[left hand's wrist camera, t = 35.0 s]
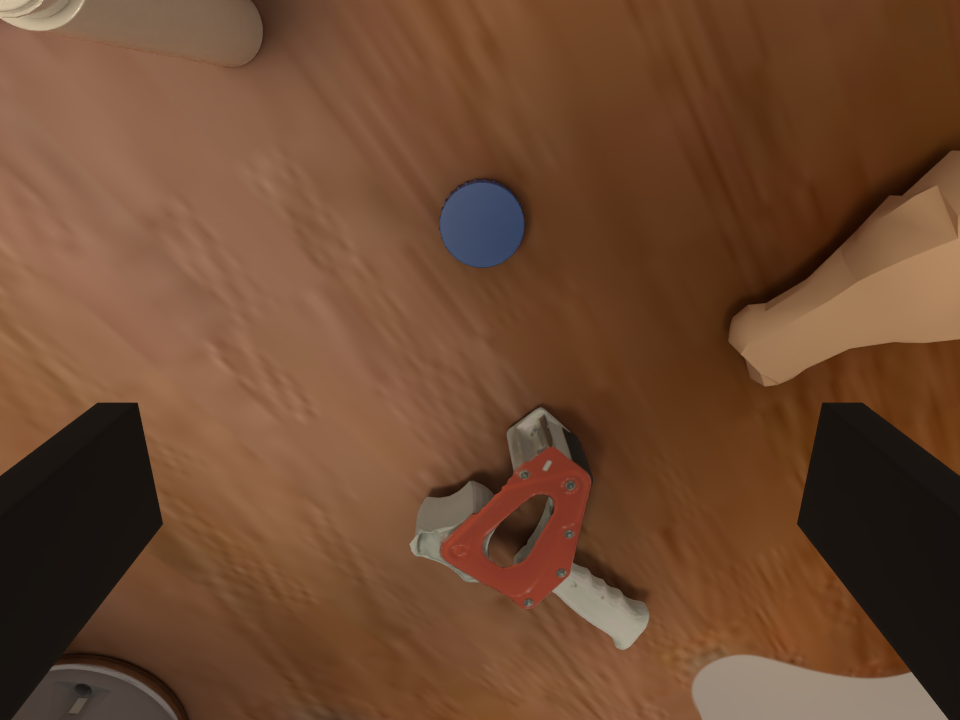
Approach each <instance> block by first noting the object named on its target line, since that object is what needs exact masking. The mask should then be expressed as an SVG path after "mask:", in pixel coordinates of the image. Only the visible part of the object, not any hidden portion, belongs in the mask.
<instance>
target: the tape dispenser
mask: <svg viewBox="0 0 960 720" xmlns="http://www.w3.org/2000/svg"><path fill="white" fill-rule="evenodd" d="M507 440H508V445H509V450H510V455H511V460H512V465H513V470H514V472H513V476H512V477H511V478H510V479H508V482H507V484H506V485H504V486H503V487H502V490H501V491H500V492H499V493H498V494H495V495H494V494H493V493H492V492H491V491H490V490H489V489H488V488H487V487H486V486H484V485H482V484H480V483H477V482H475V481H469V482H468V483H467V484H466V485H465V486H464V487H463V488H462V489H461V490H460V491H458V492H456V493H455V494H453V495H451V496H447V497H441V498H435V497H426V498H425V499H424V501H423V503H422V505H421V507H420V508H419V511H418V515H417V521H416V530H415V538H414V539H413V540H412V542H411V543H410V547H411V551H412V552H413V554H414V555H415V556H417V557H419V556H421V557H425V558H428V559H431V560H435V561H437V562H440V563H442V564H444V565H446V566H448V567H449V568H451V569H453V570H454V571H455V572H456V573H457V574H458V575H459V576H460V577H461V578H462V579H463V580H464V581H466V582H481V583H482V584H484V585H488V586H490V587H491V588H493V589H496V590H497V591H499V592H500V593H502V594H504V595H506V596H508V597H509V598H510V599H511V600H513V601H514V602H515V603H516V604H517V605H518V606H520V607H521V608H524V609H531V608H533V607H535V606H536V605H537V604H538V603H539V602H541V601H542V600H543V599H544V598H545V597H546V596H547V595H548V594H550V593H551V592H554V593H555V594H557V595H558V596H559V597H560V598H561V599H562V600H563V601H564V602H565V603H566V604H567V605H568V606H569V607H571V608H572V609H573V610H574V611H575V612H576V613H578V614H579V615H580V616H582V617H583V618H584V619H586V620H587V621H588V622H590V623H591V624H593V625H594V626H596V627H597V628H599V629H601V630H602V631H604V632H606V633H607V634H609V635H610V636H611V637H612V638H613V642H614V644H615V646H616V647H617V648H618V649H623V650H625V649H627V648H628V647H630V646H631V645H632V644H633V642H634V641H635V640H636V639H637V638H638V636H639V635H640V634H641V633H642V632H643V631H644V630H645V628H646V626H647V624H648V620H649V611H648V608H647V606H646V604H645V603H644V602H642V601H639V600H633V599H630V598H627V597H626V596H624V595H623V593H622V592H621V591H620V590H619V589H617V588H614V587H610V586H608V585H607V584H606V583H605V582H604V580H603V579H600V578H598V577H595V576H593V575H592V574H591V573H590V571H589V570H588V569H587V568H585V567H582V566H579V565H576V564H574V563H573V559H574V555H575V551H576V547H577V542H578V538H579V534H580V530H581V525H582V520H583V516H584V512H585V508H586V504H587V500H588V496H589V493H590V489H591V485H592V480H593V477H592V474H591V471H590V468H589V465H588V462H587V460H586V457H585V454H584V451H583V449H582V445H581V442H580V441H579V439H578V438H577V436H575V435H574V434H573V433H571V432H570V431H569V430H567V429H566V428H565V427H564V426H563V425H562V424H561V423H560V422H559V421H558V420H556V419H555V418H554V417H553V416H552V415H551V414H550V413H549V412H548V411H546V410H545V409H544V408H541V407H540V408H537V409H535V410H534V411H533V412H532V413H530V414H529V415H528V416H526V417H525V418H524V419H522V420H521V421H519V422H518V423H517V424H515V425H514V426H513V427H511V428H510V429H509V430H508V431H507ZM535 495H546V496H548V499H547V503H546V506H545V510H544V512H543V515H542V517H541V519H540V522H539V524H538V526H537V527H536V529H535V531H534V533H533V534H532V536H531V537H530V538H529V540H528V542H527V545H525V546H523V547H522V548H521V549H520V550H519V552H518V553H517V554H516V555H515V556H514V565H512V566H509V567H506V568H501V567H499V566H497V565H496V564H495V563H494V561H493V560H492V559H490V558H489V550H488V543H489V540H490V537H491V536H492V534H493V532H494V530H495V529H496V528H497V527H498V525H499V524H500V522H501V521H503V520H504V519H505V518H506V517H508V516H509V515H510V514H511V513H512V512H513V511H514V510H516V509H517V508H518V507H519V506H520V505H521V504H522V503H523V502H525V501H527V500H528V499H530V498H532V497H533V496H535Z"/></svg>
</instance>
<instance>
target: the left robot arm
mask: <svg viewBox="0 0 960 720" xmlns="http://www.w3.org/2000/svg"><path fill="white" fill-rule="evenodd" d="M162 525H163V522H162V517H161V512H160V508H159V503H158V498H157V493H156V489H155V484H154V479H153V474H152V469H151V465H150V460H149V455H148V450H147V445H146V441H145V436H144V431H143V426H142V422H141V417H140V412H139V407H138V403H97V404H95V405H94V406H93V407H91V408H90V409H89V410H87V411H86V412H85V413H83V414H82V415H81V416H79V417H78V418H77V419H75V420H74V421H73V422H71V423H70V424H69V425H67V426H66V427H65V428H63V429H62V430H61V431H59V432H58V433H57V434H55V435H54V436H53V437H51V438H50V439H49V440H47V441H46V442H45V443H43V444H42V445H41V446H40V447H38V448H37V449H36V450H34V451H33V452H32V453H30V454H29V455H28V456H26V457H25V458H24V459H22V460H21V461H20V462H18V463H17V464H16V465H14V466H13V467H12V468H10V469H9V470H8V471H6V472H5V473H4V474H2V475H1V476H0V720H187V718H186V715H185V712H184V710H183V708H182V706H181V704H180V703H179V702H178V700H177V699H176V697H175V696H174V695H173V694H172V692H171V691H170V690H169V689H168V688H167V687H166V686H164V685H163V684H162V683H161V682H160V681H158V680H157V679H156V678H154V677H153V676H151V675H150V674H148V673H146V672H145V671H143V670H141V669H139V668H137V667H135V666H133V665H130V664H128V663H125V662H122V661H119V660H116V659H112V658H108V657H103V656H96V655H84V654H77V655H64V656H61V655H62V654H63V652H64V651H65V650H66V648H67V647H68V646H69V645H70V643H71V642H72V641H73V639H74V638H75V637H76V636H77V634H78V633H79V632H80V630H81V629H82V628H83V627H84V625H85V624H86V623H87V621H88V620H89V619H90V617H91V616H92V615H93V614H94V612H95V611H96V610H97V608H98V607H99V606H100V605H101V603H102V602H103V601H104V599H105V598H106V597H107V596H108V594H109V593H110V592H111V590H112V589H113V588H114V587H115V585H116V584H117V583H118V581H119V580H120V579H121V577H122V576H123V575H124V574H125V572H126V571H127V570H128V568H129V567H130V566H131V565H132V563H133V562H134V561H135V559H136V558H137V557H138V556H139V554H140V553H141V552H142V550H143V549H144V548H145V547H146V545H147V544H148V543H149V541H150V540H151V539H152V537H153V536H154V535H155V534H156V532H157V531H158V530H159V528H160V527H161V526H162ZM797 525H798V526H799V527H800V528H801V530H802V531H803V532H804V534H805V535H806V536H807V537H808V539H809V540H810V541H811V543H812V544H813V545H814V547H815V548H816V549H817V550H818V552H819V553H820V554H821V556H822V557H823V558H824V559H825V561H826V562H827V563H828V565H829V566H830V567H831V568H832V570H833V571H834V572H835V574H836V575H837V576H838V577H839V579H840V580H841V581H842V583H843V584H844V585H845V587H846V588H847V589H848V590H849V592H850V593H851V594H852V596H853V597H854V598H855V599H856V601H857V602H858V603H859V605H860V606H861V607H862V608H863V610H864V611H865V612H866V614H867V615H868V616H869V617H870V619H871V620H872V621H873V623H874V624H875V625H876V627H877V628H878V629H879V630H880V632H881V633H882V634H883V636H884V637H885V638H886V639H887V641H888V642H889V643H890V645H891V646H892V647H893V648H894V650H895V651H896V652H897V654H898V655H899V656H900V658H901V659H902V660H903V661H904V663H905V664H906V665H907V667H908V668H909V669H910V670H911V672H912V673H913V674H914V676H915V677H916V678H917V679H918V681H919V682H920V683H921V685H922V686H923V687H924V688H925V690H926V691H927V692H928V694H929V695H930V696H931V698H932V699H933V700H934V701H935V703H936V704H937V705H938V707H939V708H940V709H941V710H942V712H943V713H944V714H945V716H946V717H947V718H948V719H949V720H960V476H959V475H958V474H956V473H955V472H954V471H952V470H951V469H950V468H948V467H947V466H946V465H944V464H943V463H942V462H940V461H939V460H938V459H936V458H935V457H934V456H932V455H931V454H930V453H928V452H927V451H926V450H924V449H923V448H922V447H920V446H919V445H918V444H916V443H915V442H914V441H913V440H911V439H910V438H909V437H907V436H906V435H905V434H903V433H902V432H901V431H899V430H898V429H897V428H895V427H894V426H893V425H891V424H890V423H889V422H887V421H886V420H885V419H883V418H882V417H881V416H879V415H878V414H877V413H875V412H874V411H873V410H871V409H870V408H869V407H867V406H866V405H865V404H863V403H822V407H821V412H820V417H819V421H818V426H817V431H816V436H815V441H814V445H813V450H812V455H811V460H810V465H809V469H808V474H807V479H806V484H805V489H804V493H803V498H802V503H801V508H800V512H799V517H798V522H797Z"/></svg>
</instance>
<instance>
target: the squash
mask: <svg viewBox="0 0 960 720" xmlns="http://www.w3.org/2000/svg"><path fill="white" fill-rule="evenodd" d="M956 339H960V151H950V152H949V153H948V154H947V155H946V156H945V157H944V158H943V159H942V160H941V161H940V162H938V163H937V164H936V165H935V166H934V167H933V168H932V169H931V170H930V171H929V172H928V173H926V174H925V175H924V176H923V177H922V178H921V179H920V180H919V181H918V182H917V183H916V184H914V185H913V186H912V187H911V188H910V189H909V190H908V191H907V192H906V193H905V194H904V195H902V196H892V195H889V196H888V198H887V199H886V200H885V201H884V202H883V203H882V204H881V205H880V206H879V207H878V208H877V209H876V210H875V211H874V212H873V213H872V214H871V215H870V216H869V217H868V218H867V220H866V221H865V222H864V223H863V224H862V225H861V226H860V227H859V228H858V229H857V230H856V231H855V232H854V233H853V234H852V235H851V236H850V237H849V238H848V239H847V240H846V241H845V242H844V243H843V244H842V245H841V246H840V247H839V248H838V249H837V250H836V251H835V252H834V253H833V254H832V255H831V256H830V257H829V258H828V259H827V260H826V261H825V262H824V263H823V264H822V265H821V266H820V267H819V268H818V269H817V270H816V271H815V272H814V273H813V274H811V275H810V276H809V277H808V278H807V279H806V280H804V281H803V282H801V283H799V284H797V285H796V286H794V287H792V288H791V289H789V290H787V291H786V292H784V293H782V294H781V295H779V296H777V297H776V298H774V299H772V300H770V301H769V302H767V303H762V304H752V305H747V306H746V307H745V308H743V309H742V310H741V311H740V312H739V313H737V314H736V315H735V316H734V317H733V318H732V321H731V324H730V330H729V339H728V342H729V343H730V344H731V345H732V346H733V347H734V348H735V349H736V350H737V351H738V352H739V353H740V354H741V355H742V356H743V357H744V358H745V361H746V364H747V368H748V371H749V375H750V378H751V379H752V380H754V381H756V382H758V383H759V384H761V385H763V386H772V385H778V384H781V383H783V382H785V381H788V380H790V379H792V378H794V377H795V376H797V375H798V374H799V373H801V372H802V371H803V370H805V369H806V368H808V367H811V366H813V365H815V364H817V363H819V362H821V361H824V360H826V359H828V358H830V357H832V356H835V355H837V354H839V353H841V352H843V351H845V350H848V349H850V348H856V347H863V346H870V345H876V344H883V343H890V342H902V343H927V342H937V341H946V340H956Z"/></svg>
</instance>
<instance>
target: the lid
mask: <svg viewBox="0 0 960 720" xmlns="http://www.w3.org/2000/svg"><path fill="white" fill-rule="evenodd" d="M444 203H445V205H444V207H442V209H441V212H442V213H441V216H440V218H439V221H440V228H439V230H440V233H441V239H442V240H443V242H444V244H445V247H446V248H447V249H448V251H449V252H450V253H451V255H453V256H454V257H455V258H456V259H457V260H459V261H460V262H462V263H464V264H466V265H469V266H473V267H480V268H484V267H491V266H495V265H498V264H500V263H502V262H504V261H505V260H507V259H508V258H509V257H510V256H512V255H513V253H514V252H515V251H516V250H517V248H518V247H519V245H520V244H521V240H522V237H523V235H524V226H525V222H524V213H523V212H522V209H521V208H522V206H521V204H520V203H518V200H517V197H516V195H513V193H512V192H511V190H510V188H509V189H508V188H506V187H505V186H503V183H501V184H500V183H498V182H495V180H493V181H492V180H485V178H484V179H479V180H476V179H474V180H473V181H469V182H467V181H466V182H465V183H464V184H462V185H461V186H459V185H458V186H457V189H455V190H454V191H453V192H452V191H451V193H450V196H449V197H448V199H446V200H445V202H444Z"/></svg>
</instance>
